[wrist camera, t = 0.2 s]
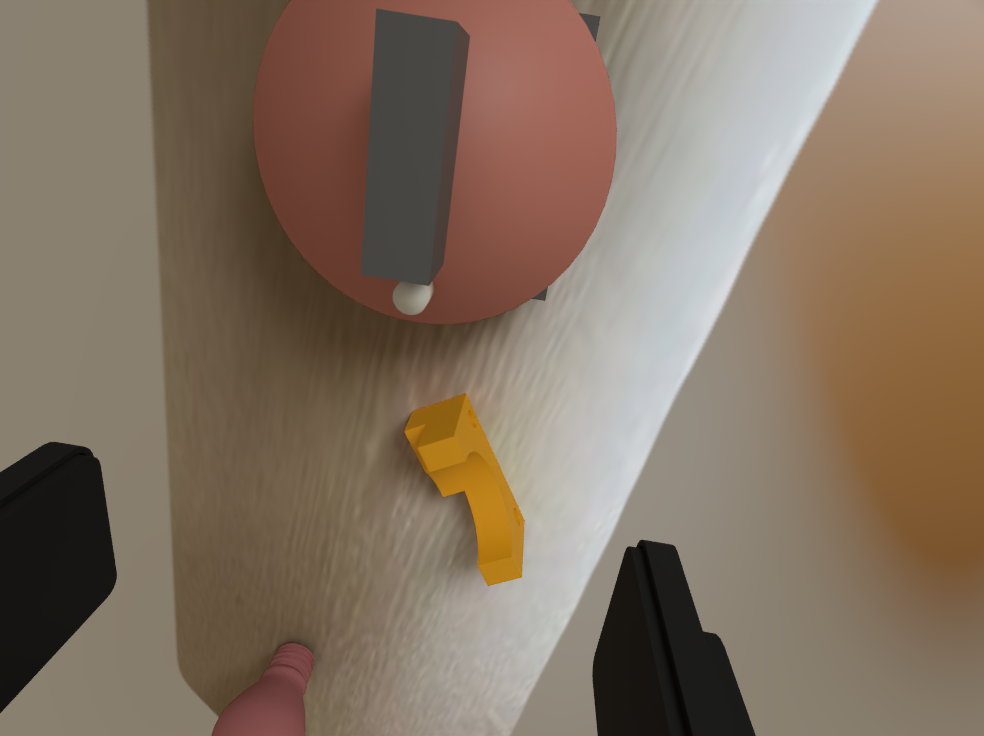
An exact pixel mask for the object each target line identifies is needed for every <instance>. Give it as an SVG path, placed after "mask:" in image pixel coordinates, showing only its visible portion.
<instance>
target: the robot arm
mask: <svg viewBox="0 0 984 736" xmlns="http://www.w3.org/2000/svg"><path fill="white" fill-rule="evenodd" d="M116 578H117V572H116V566H115V558H114V552H113V545H112V538H111V532H110V525H109V518H108V512H107V505H106V498H105V491H104V485H103V478H102V472H101V465H100V462H99V460H98V459H97V458H95V457H94V456H93V453H92V452H91V450H90V449H88V448H86V447H83V446H76V445H71V444H65V443H58V442H49V443H47V444H44V445H43V446H41V447H39V448H38V449H36V450H35V451H33V452H31V453H30V454H28V455H27V456H25V457H24V458H22V459H20V460H19V461H17V462H16V463H14V464H13V465H11V466H10V467H8V468H6V469H5V470H3V471H2V472H0V713H1V712H2V711H3V710H4V709H5V707H6V706H7V705H8V704H9V703H10V702H11V701H12V700H13V699H14V698H15V697H16V695H18V694H19V692H20V691H21V690H22V689H23V688H24V687H25V686H26V685H27V684H28V683H29V682H30V681H31V679H32V678H33V677H34V676H35V675H36V674H37V673H38V672H39V671H40V670H41V669H42V668H43V666H44V665H45V664H46V663H47V662H48V661H49V660H50V659H51V658H52V657H53V656H54V655H55V654H56V652H57V651H58V650H59V649H60V648H61V647H62V646H63V645H64V644H65V643H66V641H68V639H69V638H70V637H71V636H72V635H73V634H74V633H75V632H76V631H77V630H78V629H79V628H80V626H81V625H82V624H83V623H84V622H85V621H86V620H87V619H88V618H89V617H90V616H91V614H92V613H93V612H94V611H95V610H96V609H97V608H98V607H99V606H100V605H101V604H102V603H103V602H104V601H105V599H106V598H107V597H108V596H109V595H110V593H111V592H112V590H113V588H114V585H115V583H116ZM593 688H594V699H595V710H596V720H597V732H598V736H755V733H754V730H753V727H752V724H751V721H750V718H749V715H748V713H747V710H746V707H745V704H744V701H743V698H742V695H741V693H740V690H739V687H738V684H737V681H736V678H735V676H734V673H733V670H732V667H731V664H730V661H729V658H728V656H727V653H726V650H725V647H724V645H723V643H722V641H721V639H720V638H719V637H718V636H717V635H716V634H713V633H708V632H703V630H702V627H701V624H700V621H699V618H698V615H697V612H696V608H695V606H694V602H693V599H692V596H691V593H690V590H689V587H688V583H687V581H686V577H685V574H684V571H683V568H682V565H681V561H680V558H679V555H678V552H677V550H676V547H675V546H674V545H670V544H665V543H659V542H652V541H647V540H640V541H639V543H638V545H637V547H630V546H629V547H627V549H626V551H625V553H624V557H623V560H622V564H621V567H620V571H619V574H618V577H617V581H616V584H615V588H614V591H613V595H612V598H611V601H610V605H609V608H608V612H607V615H606V618H605V622H604V625H603V628H602V632H601V635H600V639H599V642H598V646H597V649H596V652H595V656H594V661H593Z"/></svg>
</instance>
